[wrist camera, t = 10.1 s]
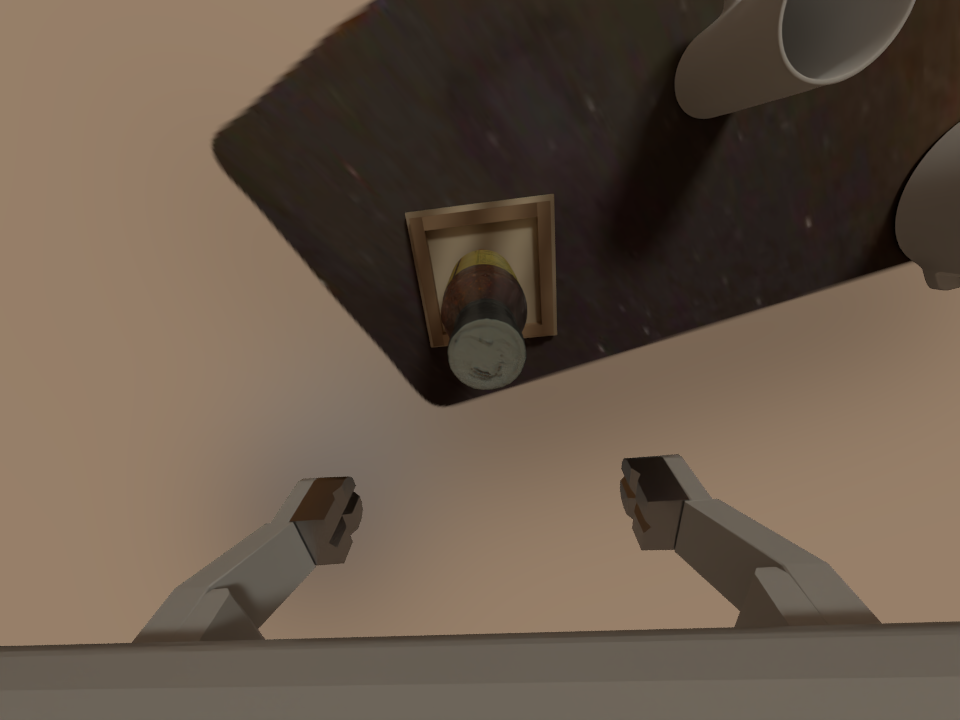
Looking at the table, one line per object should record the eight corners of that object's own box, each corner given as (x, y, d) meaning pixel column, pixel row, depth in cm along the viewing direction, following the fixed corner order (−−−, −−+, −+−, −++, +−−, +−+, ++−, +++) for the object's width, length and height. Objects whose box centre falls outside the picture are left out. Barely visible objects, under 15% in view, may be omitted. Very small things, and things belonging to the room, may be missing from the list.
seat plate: (552, 193, 33) (555, 194, 31) (555, 331, 39) (558, 338, 37) (407, 212, 34) (402, 213, 32) (432, 344, 40) (429, 351, 38)
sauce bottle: (480, 319, 37) (474, 436, 19) (439, 276, 35) (390, 362, 17) (528, 278, 35) (570, 367, 17) (487, 230, 33) (487, 274, 15)
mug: (756, 104, 29) (912, 53, 19) (674, 136, 31) (777, 105, 20) (754, -53, 25) (953, -236, 15) (660, -10, 26) (779, -150, 16)
